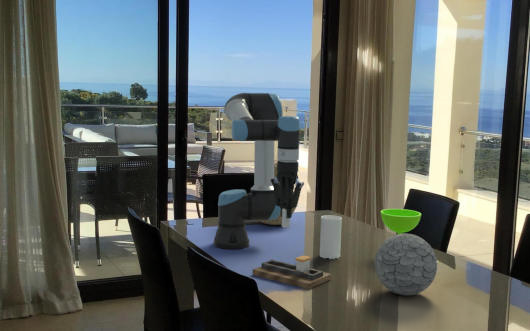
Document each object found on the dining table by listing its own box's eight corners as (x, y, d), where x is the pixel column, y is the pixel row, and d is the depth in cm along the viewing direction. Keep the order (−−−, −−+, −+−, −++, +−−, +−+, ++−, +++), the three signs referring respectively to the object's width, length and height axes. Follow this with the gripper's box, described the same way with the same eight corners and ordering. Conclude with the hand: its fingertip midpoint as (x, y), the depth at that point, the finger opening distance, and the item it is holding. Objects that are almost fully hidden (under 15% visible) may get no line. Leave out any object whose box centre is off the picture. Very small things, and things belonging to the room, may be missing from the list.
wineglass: (392, 249, 249) (394, 207, 247) (426, 256, 237) (428, 213, 235) (370, 255, 238) (372, 212, 235) (404, 264, 226) (407, 218, 224)
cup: (339, 259, 230) (341, 219, 228) (318, 258, 232) (320, 218, 230) (340, 254, 238) (342, 215, 236) (320, 252, 240) (322, 214, 238)
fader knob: (294, 274, 202) (295, 258, 202) (302, 271, 206) (303, 255, 206) (303, 276, 200) (303, 259, 200) (310, 273, 204) (311, 257, 204)
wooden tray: (252, 274, 208) (252, 264, 208) (275, 266, 219) (276, 256, 219) (309, 289, 194) (309, 278, 193) (330, 279, 205) (331, 269, 204)
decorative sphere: (397, 307, 179) (400, 243, 176) (361, 287, 197) (364, 229, 194) (448, 300, 187) (452, 238, 184) (409, 281, 205) (412, 225, 202)
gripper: (266, 159, 204) (264, 225, 208) (297, 163, 196) (294, 231, 200) (279, 157, 210) (277, 221, 213) (309, 161, 202) (306, 227, 206)
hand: (285, 226), depth 207 cm, fingers closed
